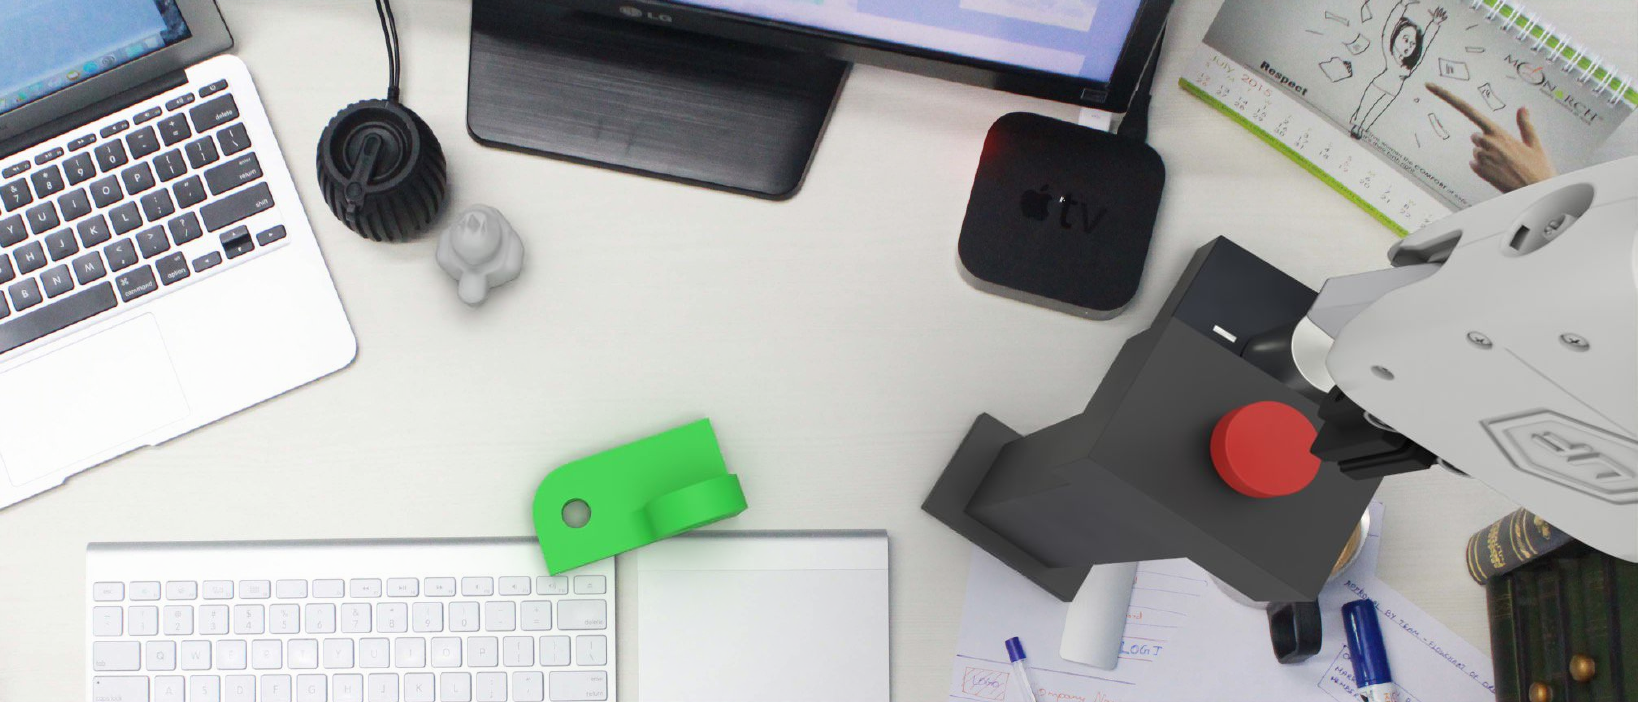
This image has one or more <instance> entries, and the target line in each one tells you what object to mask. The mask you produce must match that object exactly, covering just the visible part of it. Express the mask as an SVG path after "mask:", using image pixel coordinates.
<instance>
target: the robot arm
mask: <svg viewBox="0 0 1638 702" xmlns="http://www.w3.org/2000/svg"><path fill="white" fill-rule="evenodd" d="M1386 257H1387V259H1388V261H1389V262H1390V265H1391V266H1392V267H1391V268H1385V269H1377V270H1372V271H1371V270H1370V271H1366V272H1365V271H1364V272H1358V273H1353V274H1346V275H1339V276H1334V277H1329V278H1327V279H1326V280H1325V281H1324V283H1323V284H1322V286H1321V289H1320V290H1319V292H1318V293H1319V294H1318V295H1317V297H1316V299H1315V300H1314V302H1313V304H1312V306H1311V307H1310V309H1309V311H1308V313H1307V314H1306V315H1307V318H1308V319H1309V320H1310V321H1311V322H1312V323H1313V324H1314V325H1316V326H1317V327H1318V328H1320V329H1321V330H1322V331H1323V332H1325V333H1326V334H1327V335H1328V336H1330V337H1331V338H1332V339H1333V340H1334V342H1333V344H1332V346H1331V349H1330V351H1329V353H1328V355H1327V358H1326V360H1325V365H1326V368H1327V370H1328V372H1329V374H1330V376H1331V378H1332V379H1333V381H1334V382H1335V383H1336V384H1335V385H1334V386H1333V387H1332V388H1331V390H1330V391H1329V392H1328V394H1327V395H1326V397H1325V399H1324V400H1323V402H1322V404H1321V406H1320V408H1319V410H1318V417H1319V418H1321V419H1322V420H1324V421H1325V422H1324V424H1323V426H1322V428H1321V429H1320V431H1319V433H1318V435H1317V437H1316V438H1315V440H1314V442H1313V444H1312V445H1311V448H1310V453H1311V454H1313V455H1314V456H1316V457H1317V458H1319V459H1321V460H1322V461H1324V462H1329V461H1332V462H1337V461H1338V463H1337V465H1338V466H1340V472H1342V473H1343V474H1345V475H1347V476H1348V477H1350V478H1351V479H1353V480H1355V481H1359V480H1365V479H1371V478H1377V477H1383V476H1384V477H1389V476H1395V475H1400V474H1407V473H1413V472H1420V471H1426V470H1430V469H1431V468H1432V466H1436V465H1439V466H1440V467H1441V468H1443V469H1444V470H1446V471H1448V472H1449V473H1451V474H1454V475H1456V476H1460V477H1462V478H1466V479H1473V480H1476V481H1478V482H1480V483H1481V484H1483V485H1485V486H1486V487H1488V488H1490V489H1491V490H1493V491H1495V492H1496V493H1498V494H1500V495H1501V496H1503V497H1505V498H1506V499H1508V500H1509V501H1511V502H1513V503H1514V504H1516V505H1518V506H1519V507H1521V508H1522V509H1524V510H1526V511H1528V512H1529V513H1531V514H1533V515H1535V516H1536V517H1538V518H1540V519H1541V520H1543V521H1545V522H1546V523H1548V524H1550V525H1552V526H1553V527H1555V528H1557V529H1559V530H1560V531H1562V532H1563V533H1566V534H1567V535H1569V536H1571V537H1573V538H1574V539H1576V540H1578V541H1580V542H1582V543H1583V544H1585V545H1587V546H1588V547H1589V546H1590V547H1592V548H1594V549H1595V550H1597V551H1600V552H1603V553H1605V554H1607V555H1610V556H1613V557H1615V558H1618V559H1621V560H1623V561H1627V562H1631V563H1635V564H1636V563H1637V564H1638V154H1634V155H1629V156H1626V157H1621V158H1618V159H1614V160H1613V159H1612V160H1610V161H1605V162H1603V163H1599V164H1595V165H1591V166H1587V167H1584V168H1581V169H1577V170H1574V171H1570V172H1567V173H1563V174H1561V175H1557V176H1554V177H1550V178H1548V179H1544V180H1541V181H1538V182H1534V183H1532V184H1529V185H1526V186H1522V187H1520V188H1517V189H1514V190H1512V191H1509V192H1506V193H1503V194H1500V195H1498V196H1495V197H1492V198H1489V199H1485V200H1484V201H1481V202H1478V203H1476V204H1473V205H1471V206H1468V207H1466V208H1464V209H1461V210H1459V211H1457V212H1454V213H1452V214H1449V215H1447V216H1444V217H1441V218H1440V219H1437V220H1435V221H1433V222H1431V223H1429V224H1427V225H1425V226H1423V227H1421V228H1419V229H1417V230H1414V232H1411V233H1410V234H1408V235H1406V236H1404V237H1402V238H1401V239H1399V240H1398V241H1396V242H1394V244H1392V245H1391V247H1390V248H1389V249H1388V250H1387V252H1386Z"/></svg>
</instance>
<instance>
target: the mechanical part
mask: <svg viewBox="0 0 1638 702" xmlns="http://www.w3.org/2000/svg"><path fill="white" fill-rule="evenodd" d="M728 471H729V470H728V469H727V465H726V463H725V460H724V458H723V455H722V452H721V449H720V445H719V442H718V440H717V437H716V434H715V431H714V429H713V426H712V423H711V420H710V417H706V418H702V419H700V420H696V421H694V422H693V421H692V422H690V423H686V424H684V425H681V426H678V427H675V428H672V429H669V430H666V431H663V432H660V433H657V434H653V435H650V436H647V437H644V438H641V439H638V440H635V441H631V442H629V443H626V444H622V445H620V446H619V445H618V446H617V447H613V448H610V449H607V450H605V451H601V452H598V453H595V454H591V455H589V456H586V457H583V458H580V459H576V460H574V461H570V462H568V463H564V464H561V465H560V466H558V467H557V468H555V469H553V470H552V471H551V472H549V473H548V474H547V475H546V477H545V478H543V480H542V481H541V482H540V484H539V486H538V488H537V489H536V492H535V494H534V496H533V497H534V498H533V502H532V511H531V512H532V521H533V526H534V529H535V533H536V536H537V539H538V541H539V545H540V549H541V552H542V554H543V558H544V561H545V564H546V567H547V571H548V573H549V576H550V577H553V576H556V574H557V575H560V574H563V573H566V572H569V571H573V570H575V569H578V568H581V567H584V566H586V565H590V564H593V563H596V562H599V561H602V560H605V559H609V558H611V557H614V556H615V557H616V556H618V555H620V554H623V553H627V552H629V551H632V550H636V549H638V548H642V547H644V546H648V545H651V544H654V543H657V542H659V541H663V540H666V539H669V538H672V537H675V536H678V535H682V534H684V533H687V532H689V531H693V530H696V529H699V528H702V527H705V526H708V525H711V524H714V523H717V522H721V521H724V520H726V519H729V518H732V517H735V516H738V515H740V514H741V513H743V512H744V511H746V510H748V509H749V505H748V502H747V499H746V496H745V494H744V491H743V489H742V486H741V483H740V480H739V476H738V474H737V473H730V474H729V472H728ZM572 502H573V503H574V502H581V503H584V504H585V505H586V506H588V508H589V510H590V513H591V514H590V518H589V520H588V522H587V523H586V524H585V525H584V526H582V527H577V528H575V527H571V526H569V525H567V524H566V523H565V521H564V518H563V514H564V510H565V508H566V507H567V506H568V505H569V504H571V503H572ZM559 573H560V574H559Z"/></svg>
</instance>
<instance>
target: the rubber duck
mask: <svg viewBox="0 0 1638 702" xmlns="http://www.w3.org/2000/svg"><path fill="white" fill-rule="evenodd" d="M524 258H525V247H524V243H523V241H522V239H521V236H520V235H519V234H518V232H516V230H514V228H513V226H512V224H510V222H509V220H508V219H507V218H506V217H505V216H504V215H503V213H502V212H501V211H500V210H499V209H498V208H496V207H494V206H490V205H487V204H483V203H476V204H473V205H471V206H469V207H467V208H466V209H464V210H463V211H461V213H459V215H457V216H456V218H454V220H453V221H452V223H451V224H450V225H449V226H447V227H446V228H444V230H443V231H442V232H441V234H440V235H439V237H438V240H437V246H436V250H435V261H436V263H437V265H438V266H439V267H440V268H441V269H442V270H443V271H444V272H445V273H447V274H448V275H449V276H450V277H451V278H452V279H454V280H456V281H457V282H458V285H457V292H456V293H457V297H458V298H459V299H460V300H461V301H462V302H463V303H465V304H467V306H468V307H470V308H474V309H475V308H479V307H481V306H483V305H484V304H485V303H486V302H487V301H488V298H489V296H490V291H491V290H490V289H491V288H494V287H498V286H501V285H503V284H505V283H506V282H510V281H513V280H516V279H517V278H518V277H519V276H521V273H522V268H523V264H524Z"/></svg>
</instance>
